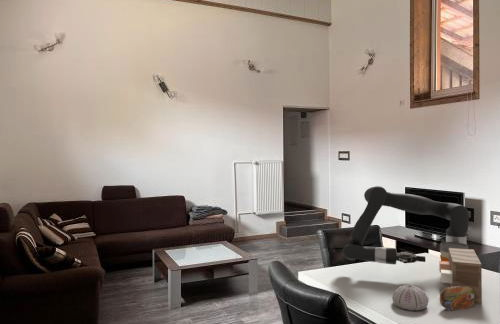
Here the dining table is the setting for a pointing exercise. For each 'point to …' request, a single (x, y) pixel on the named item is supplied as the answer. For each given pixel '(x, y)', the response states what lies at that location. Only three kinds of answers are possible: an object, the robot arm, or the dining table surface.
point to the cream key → (446, 276)
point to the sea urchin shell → (410, 298)
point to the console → (466, 270)
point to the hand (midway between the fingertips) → (425, 259)
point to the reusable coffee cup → (445, 249)
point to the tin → (457, 297)
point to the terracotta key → (444, 265)
